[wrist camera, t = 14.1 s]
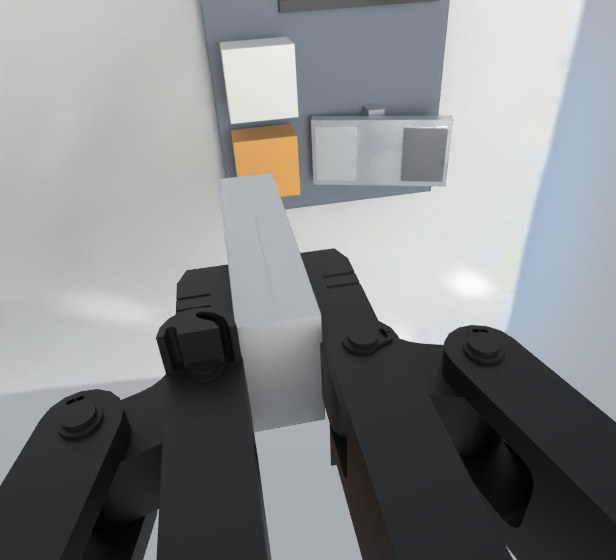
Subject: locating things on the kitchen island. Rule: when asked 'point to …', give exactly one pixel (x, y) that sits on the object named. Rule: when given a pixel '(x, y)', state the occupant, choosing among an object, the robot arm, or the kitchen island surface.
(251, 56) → the button
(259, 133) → the button
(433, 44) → the panel
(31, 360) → the kitchen island surface
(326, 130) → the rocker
